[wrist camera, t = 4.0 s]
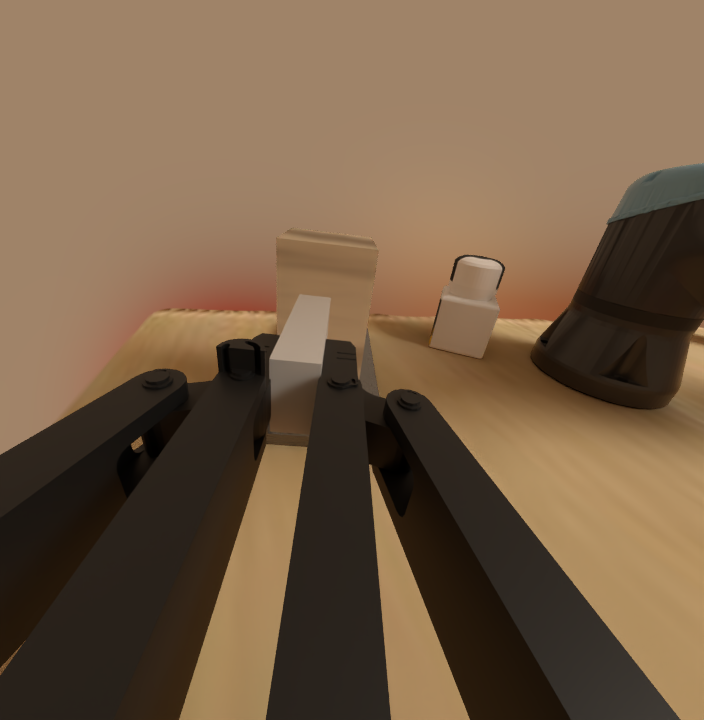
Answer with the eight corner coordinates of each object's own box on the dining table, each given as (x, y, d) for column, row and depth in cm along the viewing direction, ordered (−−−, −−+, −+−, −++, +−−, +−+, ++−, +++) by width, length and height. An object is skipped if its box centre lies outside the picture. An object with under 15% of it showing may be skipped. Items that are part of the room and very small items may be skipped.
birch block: (353, 419, 24) (378, 249, 18) (277, 414, 24) (276, 237, 17) (351, 379, 29) (371, 237, 23) (289, 374, 29) (292, 227, 23)
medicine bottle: (432, 329, 47) (453, 249, 41) (479, 340, 45) (508, 258, 40) (427, 347, 41) (451, 256, 35) (482, 360, 39) (516, 267, 34)
